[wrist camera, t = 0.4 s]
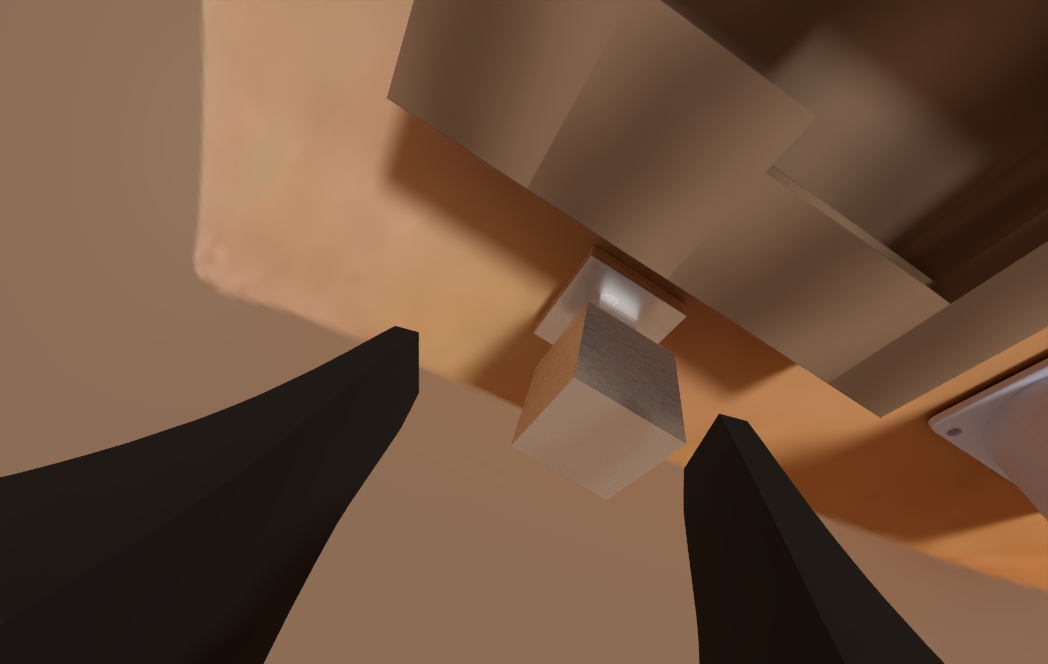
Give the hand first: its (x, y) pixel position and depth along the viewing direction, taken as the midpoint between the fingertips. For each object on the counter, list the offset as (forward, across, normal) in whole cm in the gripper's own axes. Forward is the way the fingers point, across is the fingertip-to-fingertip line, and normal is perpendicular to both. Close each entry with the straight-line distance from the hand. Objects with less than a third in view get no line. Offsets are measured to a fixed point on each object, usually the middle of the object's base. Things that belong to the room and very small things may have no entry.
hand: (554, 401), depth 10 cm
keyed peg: (+10, -2, +3) cm, 11 cm away
